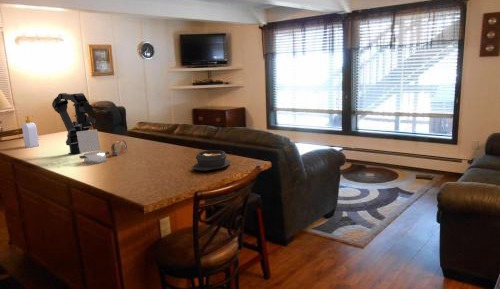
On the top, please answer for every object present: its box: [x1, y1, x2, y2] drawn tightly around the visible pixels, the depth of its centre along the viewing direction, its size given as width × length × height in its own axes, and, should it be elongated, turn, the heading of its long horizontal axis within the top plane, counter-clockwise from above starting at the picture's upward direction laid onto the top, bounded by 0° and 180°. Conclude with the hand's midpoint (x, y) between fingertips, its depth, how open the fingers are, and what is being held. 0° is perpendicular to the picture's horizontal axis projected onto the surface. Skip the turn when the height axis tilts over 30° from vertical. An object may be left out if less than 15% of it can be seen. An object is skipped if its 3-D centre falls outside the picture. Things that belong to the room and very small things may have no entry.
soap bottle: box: [21, 115, 40, 148], centre depth 280 cm, size 9×7×23 cm
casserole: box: [191, 149, 232, 172], centre depth 205 cm, size 25×19×8 cm
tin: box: [110, 139, 128, 156], centre depth 247 cm, size 15×3×8 cm, turn 168°
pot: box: [79, 150, 110, 165], centre depth 226 cm, size 12×17×5 cm
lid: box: [76, 128, 102, 154], centre depth 231 cm, size 13×12×3 cm
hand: (83, 137), depth 243 cm, fingers open, 9 cm apart
